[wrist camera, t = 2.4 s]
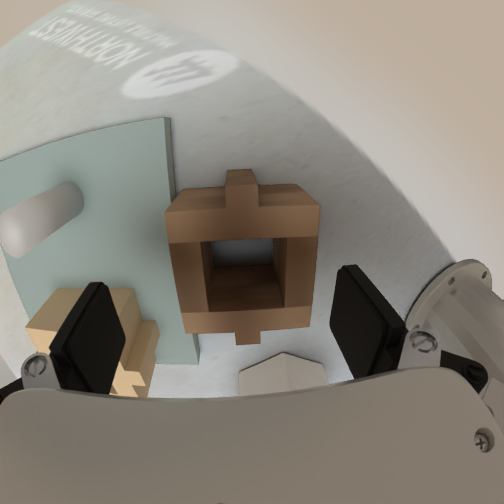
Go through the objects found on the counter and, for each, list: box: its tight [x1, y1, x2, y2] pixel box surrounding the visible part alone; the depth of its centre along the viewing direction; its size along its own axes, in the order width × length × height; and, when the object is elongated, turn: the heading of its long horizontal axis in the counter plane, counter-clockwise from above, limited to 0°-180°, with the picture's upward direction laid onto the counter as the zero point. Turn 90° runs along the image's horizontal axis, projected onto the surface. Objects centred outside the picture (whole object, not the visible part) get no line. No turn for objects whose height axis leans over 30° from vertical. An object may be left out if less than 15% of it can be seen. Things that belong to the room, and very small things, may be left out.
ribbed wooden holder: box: [164, 169, 320, 345], centre depth 16 cm, size 7×9×5 cm
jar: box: [239, 353, 329, 396], centre depth 19 cm, size 9×8×12 cm
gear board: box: [0, 117, 200, 397], centre depth 14 cm, size 16×18×8 cm
